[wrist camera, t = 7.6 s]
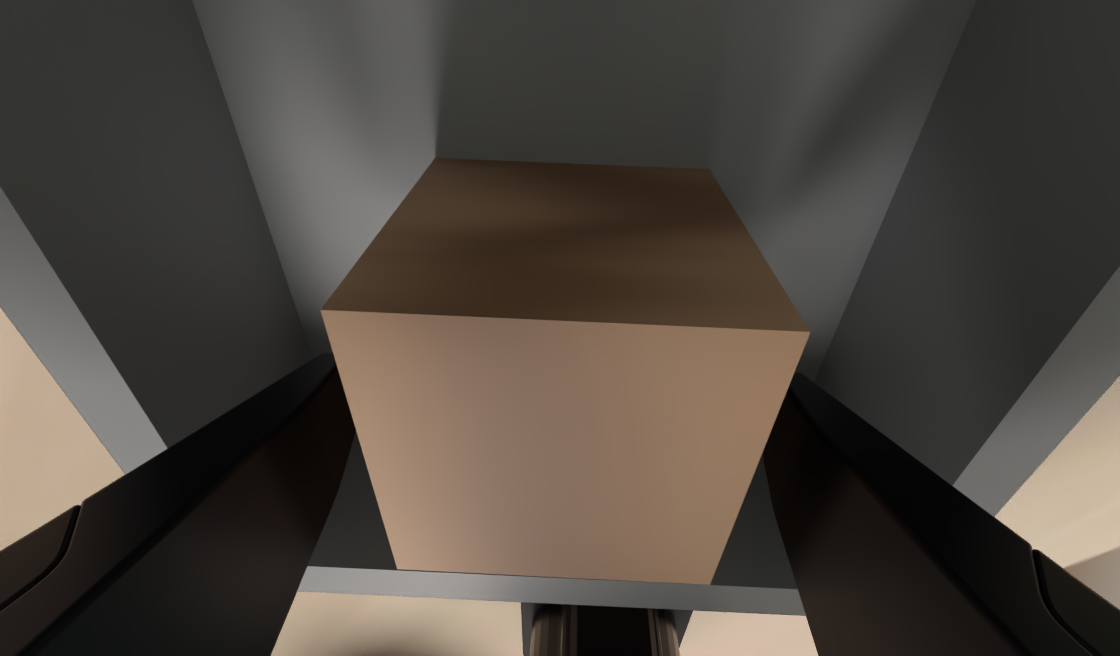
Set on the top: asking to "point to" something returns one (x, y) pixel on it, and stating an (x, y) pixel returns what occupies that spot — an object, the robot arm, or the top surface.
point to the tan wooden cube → (563, 369)
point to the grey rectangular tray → (578, 138)
